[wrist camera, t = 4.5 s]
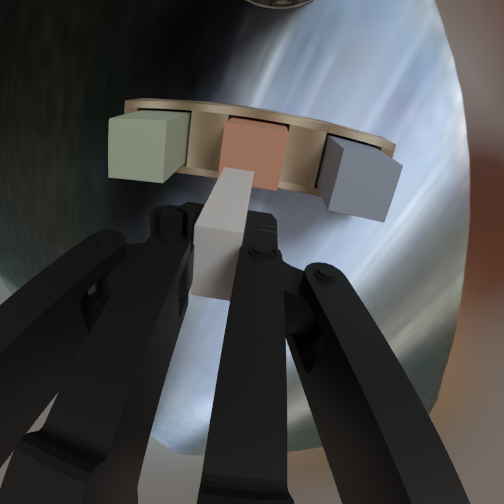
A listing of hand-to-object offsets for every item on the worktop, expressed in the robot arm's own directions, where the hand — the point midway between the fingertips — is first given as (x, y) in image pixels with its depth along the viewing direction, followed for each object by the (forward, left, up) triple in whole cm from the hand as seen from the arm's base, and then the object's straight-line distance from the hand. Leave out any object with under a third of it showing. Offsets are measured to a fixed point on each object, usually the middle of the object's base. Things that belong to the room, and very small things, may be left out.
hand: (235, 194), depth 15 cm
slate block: (+9, 0, -14) cm, 17 cm away
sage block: (-9, 0, -14) cm, 16 cm away
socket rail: (0, 0, -17) cm, 17 cm away
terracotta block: (0, 0, -16) cm, 16 cm away
